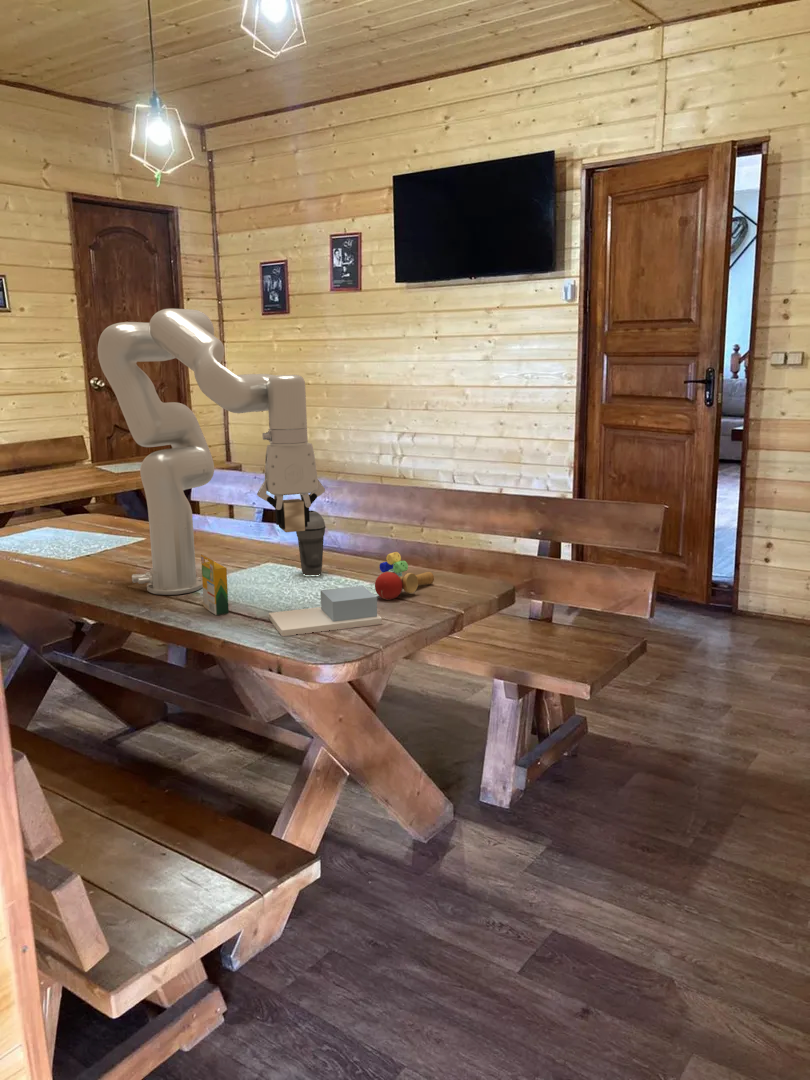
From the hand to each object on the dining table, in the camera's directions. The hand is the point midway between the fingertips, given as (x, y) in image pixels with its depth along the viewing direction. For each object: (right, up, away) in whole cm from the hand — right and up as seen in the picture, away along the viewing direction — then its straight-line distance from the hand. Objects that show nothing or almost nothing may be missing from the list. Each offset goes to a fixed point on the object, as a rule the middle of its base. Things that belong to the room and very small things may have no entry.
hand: (293, 526), depth 179 cm
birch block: (0, -1, 0) cm, 1 cm away
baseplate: (+7, -19, -5) cm, 21 cm away
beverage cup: (+1, -11, +31) cm, 33 cm away
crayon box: (-16, -18, +3) cm, 24 cm away
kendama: (+23, -15, +15) cm, 31 cm away
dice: (+20, -12, +27) cm, 36 cm away
